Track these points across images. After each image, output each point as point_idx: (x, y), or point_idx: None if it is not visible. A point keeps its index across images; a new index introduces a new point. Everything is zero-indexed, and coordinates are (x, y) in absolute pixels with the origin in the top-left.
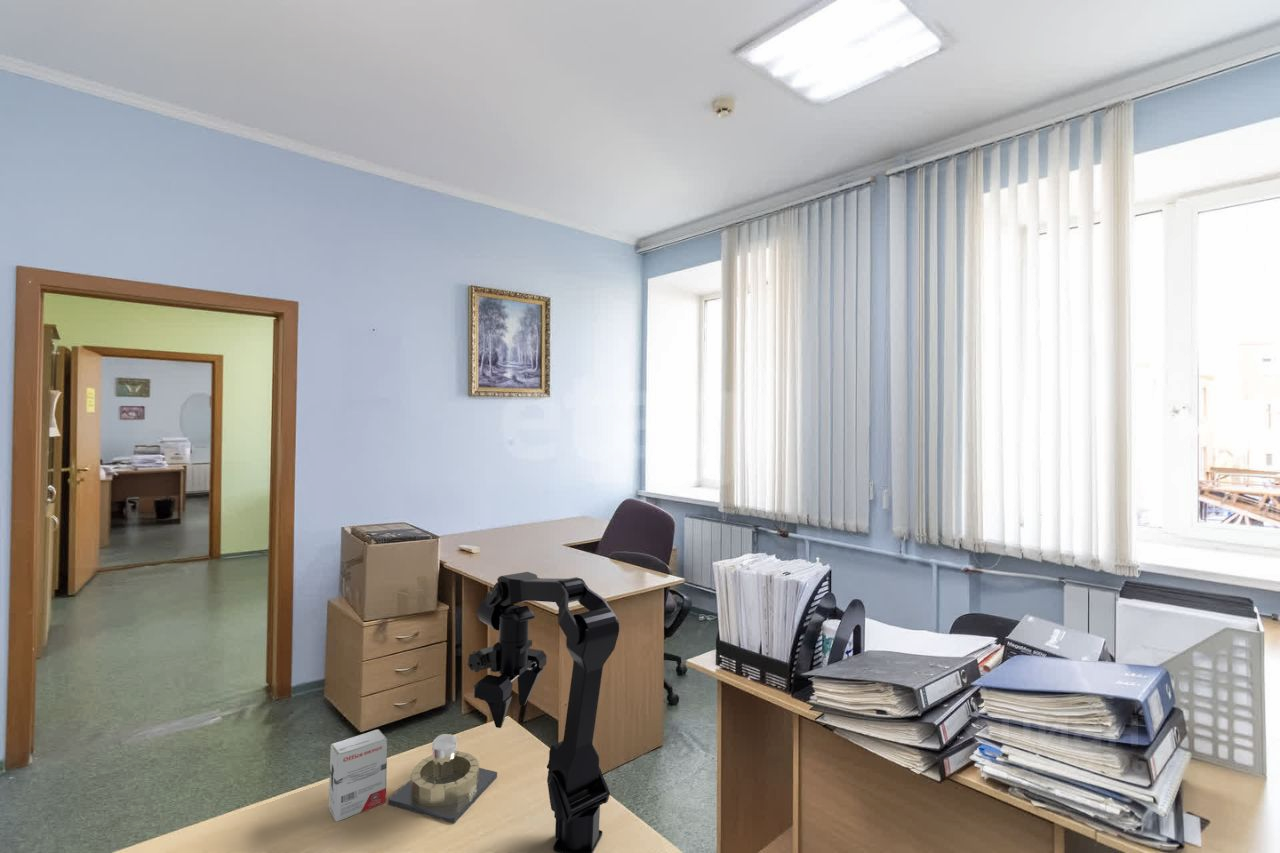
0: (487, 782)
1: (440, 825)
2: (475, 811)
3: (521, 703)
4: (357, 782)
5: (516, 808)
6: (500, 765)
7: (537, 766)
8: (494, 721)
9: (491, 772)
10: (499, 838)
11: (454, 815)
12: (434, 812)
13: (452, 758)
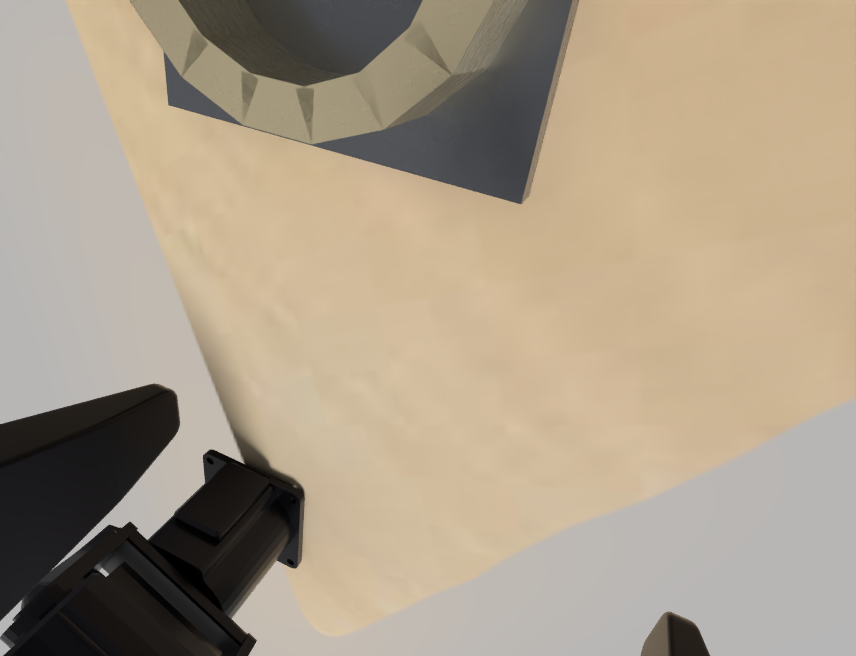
0: (420, 174)
1: None
2: (272, 167)
3: (656, 650)
4: None
5: (333, 331)
6: (658, 182)
7: (650, 394)
8: (84, 408)
9: (511, 169)
10: (194, 298)
11: (175, 97)
12: None
13: None
